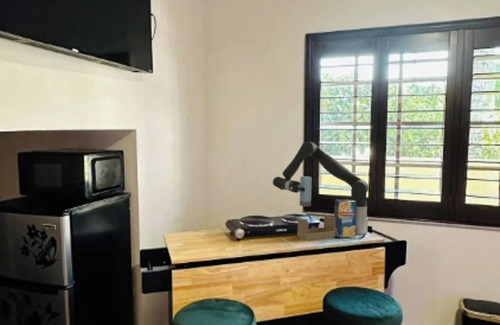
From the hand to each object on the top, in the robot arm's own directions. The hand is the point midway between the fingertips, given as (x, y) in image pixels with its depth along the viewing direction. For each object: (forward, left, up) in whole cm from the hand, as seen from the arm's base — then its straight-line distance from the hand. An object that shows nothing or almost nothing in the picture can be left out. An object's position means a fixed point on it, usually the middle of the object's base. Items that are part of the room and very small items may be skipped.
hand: (308, 189), depth 232 cm
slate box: (0, -3, -10) cm, 11 cm away
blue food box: (-18, +13, -28) cm, 36 cm away
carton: (0, +9, -28) cm, 29 cm away
